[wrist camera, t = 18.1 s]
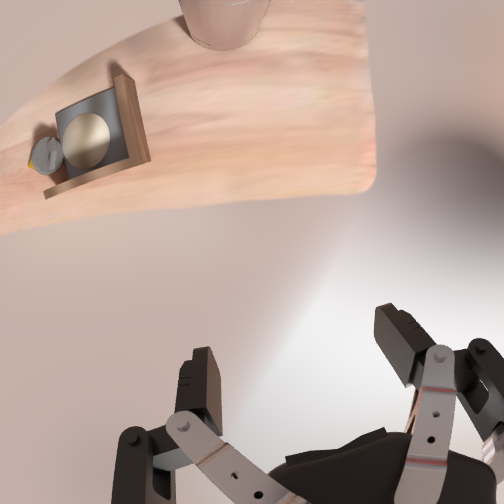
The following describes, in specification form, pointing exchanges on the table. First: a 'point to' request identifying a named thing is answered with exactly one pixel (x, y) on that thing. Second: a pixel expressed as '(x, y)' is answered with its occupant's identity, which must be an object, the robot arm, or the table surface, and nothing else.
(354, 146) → the table surface
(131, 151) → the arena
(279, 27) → the table surface
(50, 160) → the drill bit
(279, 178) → the table surface
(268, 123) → the table surface
